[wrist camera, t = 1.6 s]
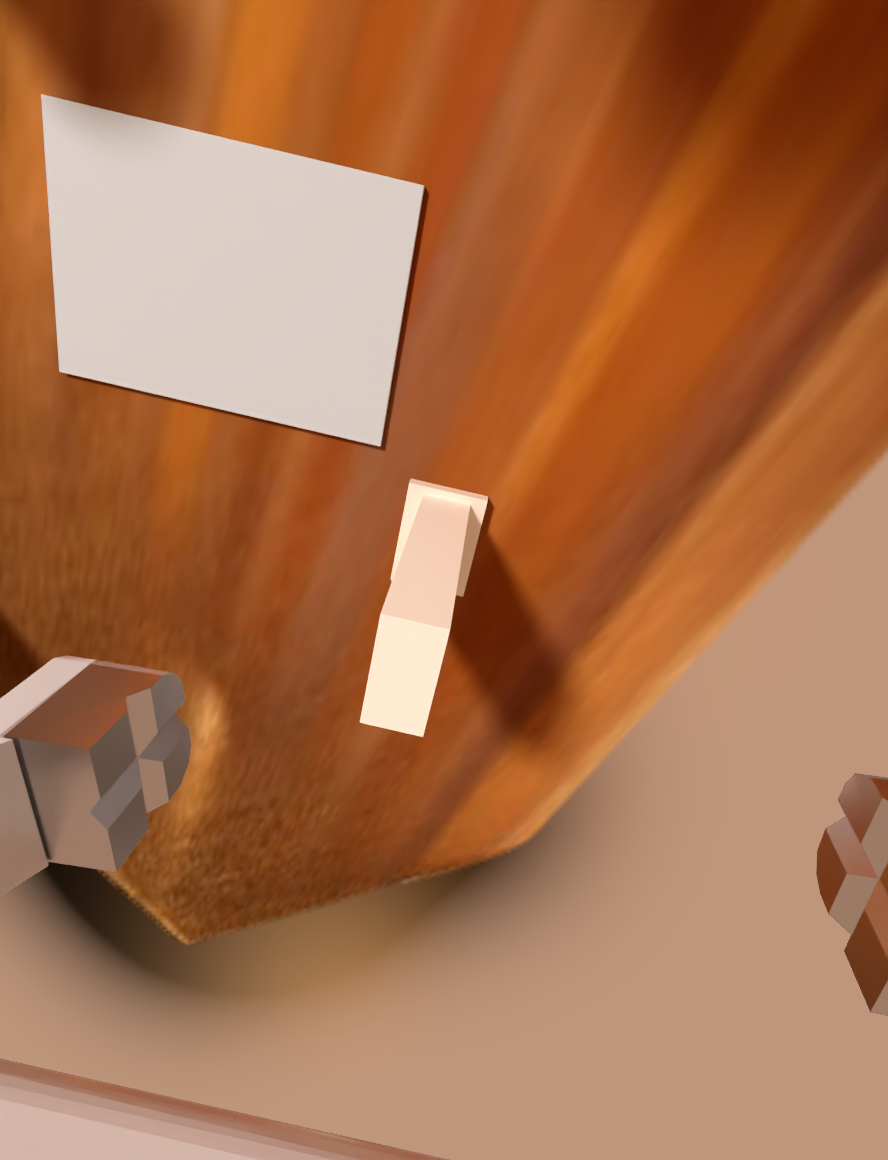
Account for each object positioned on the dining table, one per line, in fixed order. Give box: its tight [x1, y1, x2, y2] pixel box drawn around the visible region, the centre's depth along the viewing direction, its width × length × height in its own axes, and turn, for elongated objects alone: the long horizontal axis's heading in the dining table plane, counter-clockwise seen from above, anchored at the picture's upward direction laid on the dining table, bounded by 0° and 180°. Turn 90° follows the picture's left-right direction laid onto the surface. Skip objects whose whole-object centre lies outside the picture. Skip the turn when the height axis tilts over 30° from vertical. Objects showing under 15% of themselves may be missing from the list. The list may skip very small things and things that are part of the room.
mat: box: [41, 94, 425, 446], centre depth 37 cm, size 20×14×1 cm
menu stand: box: [360, 479, 488, 737], centre depth 36 cm, size 5×7×16 cm
